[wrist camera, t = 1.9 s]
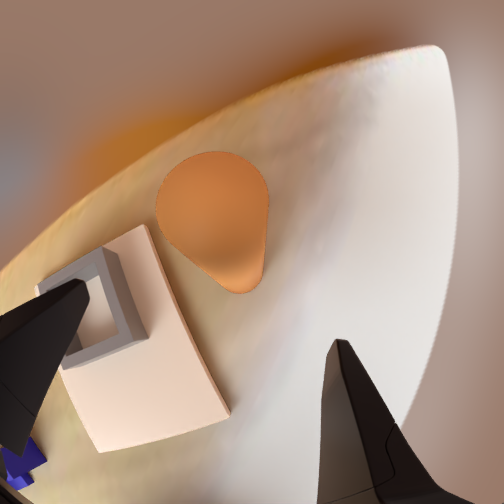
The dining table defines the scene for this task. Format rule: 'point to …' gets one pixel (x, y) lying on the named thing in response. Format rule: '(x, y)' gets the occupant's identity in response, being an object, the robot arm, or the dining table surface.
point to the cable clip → (22, 464)
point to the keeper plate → (133, 350)
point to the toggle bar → (217, 217)
